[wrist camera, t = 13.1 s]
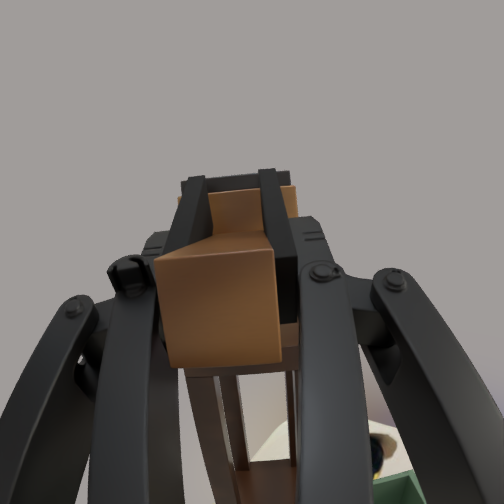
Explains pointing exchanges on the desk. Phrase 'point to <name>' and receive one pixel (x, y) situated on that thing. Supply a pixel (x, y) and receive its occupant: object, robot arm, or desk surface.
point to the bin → (398, 489)
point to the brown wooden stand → (216, 436)
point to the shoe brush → (224, 282)
